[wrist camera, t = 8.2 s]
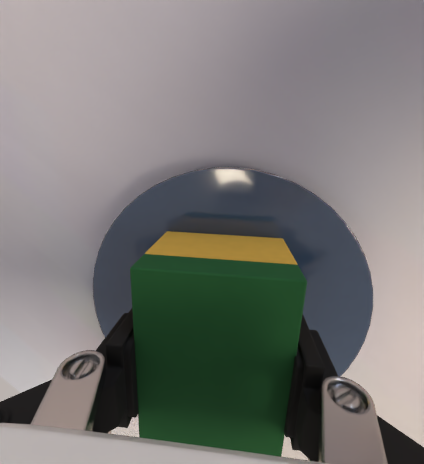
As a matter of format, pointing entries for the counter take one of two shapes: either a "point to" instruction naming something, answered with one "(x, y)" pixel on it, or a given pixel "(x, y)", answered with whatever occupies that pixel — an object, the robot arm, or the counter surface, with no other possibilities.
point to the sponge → (216, 339)
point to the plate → (247, 224)
